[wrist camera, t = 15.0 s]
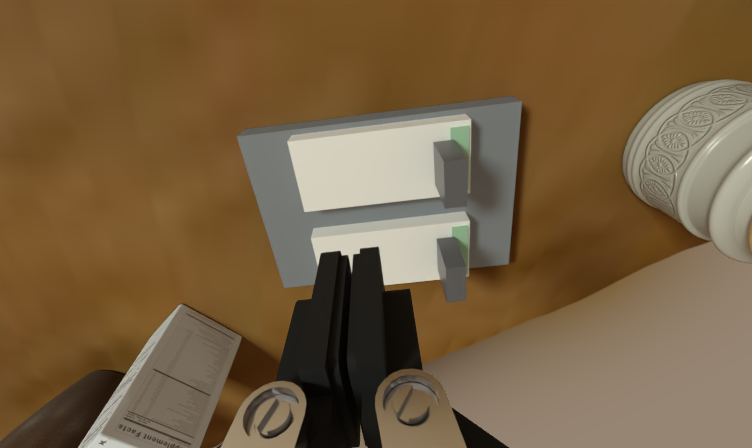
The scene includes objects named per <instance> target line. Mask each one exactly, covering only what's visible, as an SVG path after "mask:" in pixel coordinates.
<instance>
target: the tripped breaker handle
mask: <svg viewBox="0 0 752 448" xmlns="http://www.w3.org/2000/svg"><path fill="white" fill-rule="evenodd" d="M433 148H434V173H435V186H436V188H437V191H438V193H439V195H440V198H441V200H442V203H443V205H444V208H445V209H449V208H458V207H467V198H468V159H467V157H466V156H465V154H464V153H463V152H462V150H461V149H460V147H459V146H458V145H457V143H456V142H455V140H447V141H438V142H433Z"/></svg>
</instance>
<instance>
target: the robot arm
mask: <svg viewBox="0 0 752 448" xmlns="http://www.w3.org/2000/svg"><path fill="white" fill-rule="evenodd" d="M360 425H361V429H362V433H363V437H364V441H365V445H366V446H368V448H509V447H507V446H505V445H504V444H503V443H501V442H500V441H499V440H497V439H496V438H494V437H493V436H492V435H490V434H489V433H487V432H486V431H484V430H483V429H482V428H480V427H479V426H477V425H476V424H474V423H473V422H472V421H470V420H469V419H467V418H466V417H464V416H463V415H462V414H460V413H459V412H457V411H456V410H454V409H453V408H452V407H451V405H450V402H449V400H448V397H447V394H446V392H445V390H444V388H443V386H442V385H441V383H440V382H439V381H438V380H437V379H436V378H435V377H434V376H433V375H431V374H429V373H427V372H425V371H423V370H422V363H421V357H420V350H419V344H418V338H417V331H416V325H415V318H414V312H413V306H412V299H411V293H410V289H404V290H394V291H385V288H384V281H383V273H382V266H381V259H380V251H379V247H370V248H361V249H360V254H353V264H352V272H351V267H350V261H349V257H348V255H342V254H341V251H333V252H324V253H321V255H320V259H319V264H318V269H317V274H316V279H315V284H314V289H313V294H312V299H307V300H298V301H297V302H296V304H295V307H294V311H293V315H292V319H291V323H290V327H289V331H288V335H287V339H286V343H285V347H284V351H283V354H282V358H281V362H280V366H279V370H278V374H277V378H276V382H271V383H269V384H266V385H263V386H262V387H260V388H258V389H257V390H255V391H254V392H253V393H252V394H251V395H250V396H249V397H248V398H247V399H246V400H245V401H244V402H243V404H242V405H241V407H240V409H239V410H238V412H237V414H236V416H235V419H234V421H233V423H232V425H231V427H230V429H229V431H228V433H227V435H226V437H225V439H224V442H223V443H222V444H221V445H220V446H219V447H217V448H352V447H359V445H360Z"/></svg>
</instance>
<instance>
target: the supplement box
mask: <svg viewBox="0 0 752 448" xmlns="http://www.w3.org/2000/svg"><path fill="white" fill-rule="evenodd" d="M241 339H242V336H240V335H238V334H236V333H235V332H233V331H231V330H229V329H227V328H225V327H224V326H222V325H220V324H218V323H216V322H214V321H213V320H211V319H209V318H207V317H205V316H203V315H202V314H200V313H198V312H196V311H194V310H192V309H191V308H189V307H187V306H185V305H183V304H180V305H179V306H178V307H177V308H176V310H175V311H174V312H173V313H172V314H171V315H170V316H169V317H168V318H167V319H166V320H165V321H164V323H163V324H162V325H161V326H160V327H159V328H158V329H157V330H156V332H155V333H154V334H153V335H152V336H151V338H150V339H149V340H148V342H147V343H146V345H145V347H144V348H143V350H142V351H141V353H140V354H139V356H138V357H137V359H136V360H135V362H134V363H133V365H132V366H131V368H130V369H129V371H128V372H127V374H126V375H125V377H124V378H123V380H122V381H121V383H120V384H119V386H118V387H117V389H116V390H115V392H114V393H113V395H112V397H111V398H110V400H109V401H108V403H107V404H106V406H105V407H104V409H103V410H102V412H101V413H100V415H99V416H98V418H97V420H96V421H95V423H94V424H93V426H92V427H91V429H90V430H89V432H88V433H87V435H86V436H85V438H84V439H83V441H82V442H81V444H80V445H79V447H78V448H200V446H201V444H202V441H203V438H204V436H205V433H206V430H207V428H208V425H209V423H210V420H211V418H212V415H213V413H214V410H215V408H216V405H217V403H218V400H219V398H220V395H221V392H222V389H223V386H224V383H225V381H226V378H227V376H228V373H229V371H230V368H231V366H232V363H233V360H234V358H235V355H236V353H237V350H238V348H239V345H240V342H241Z"/></svg>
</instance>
